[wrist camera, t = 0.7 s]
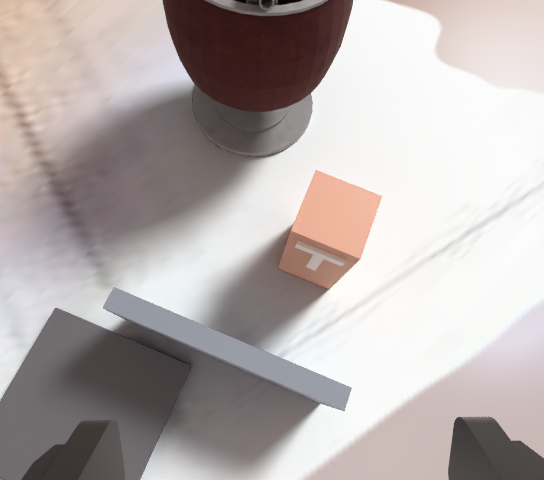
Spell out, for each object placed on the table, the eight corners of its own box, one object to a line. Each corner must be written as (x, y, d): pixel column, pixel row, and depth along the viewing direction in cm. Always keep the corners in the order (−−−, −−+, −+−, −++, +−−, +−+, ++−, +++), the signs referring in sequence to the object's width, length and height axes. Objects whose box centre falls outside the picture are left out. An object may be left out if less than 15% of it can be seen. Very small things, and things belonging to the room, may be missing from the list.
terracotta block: (276, 271, 37) (289, 234, 27) (297, 221, 39) (315, 170, 29) (328, 292, 37) (359, 262, 27) (346, 240, 38) (381, 196, 29)
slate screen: (132, 323, 34) (102, 308, 27) (141, 306, 35) (113, 287, 27) (320, 403, 34) (344, 411, 26) (326, 385, 34) (351, 387, 26)
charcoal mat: (-27, 458, 30) (-35, 460, 30) (60, 309, 34) (55, 307, 33) (119, 525, 30) (115, 529, 29) (191, 365, 34) (189, 365, 33)
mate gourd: (187, 48, 44) (148, -200, 25) (315, 52, 45) (369, -182, 26) (181, 178, 39) (127, -10, 20) (324, 179, 40) (400, 3, 21)
